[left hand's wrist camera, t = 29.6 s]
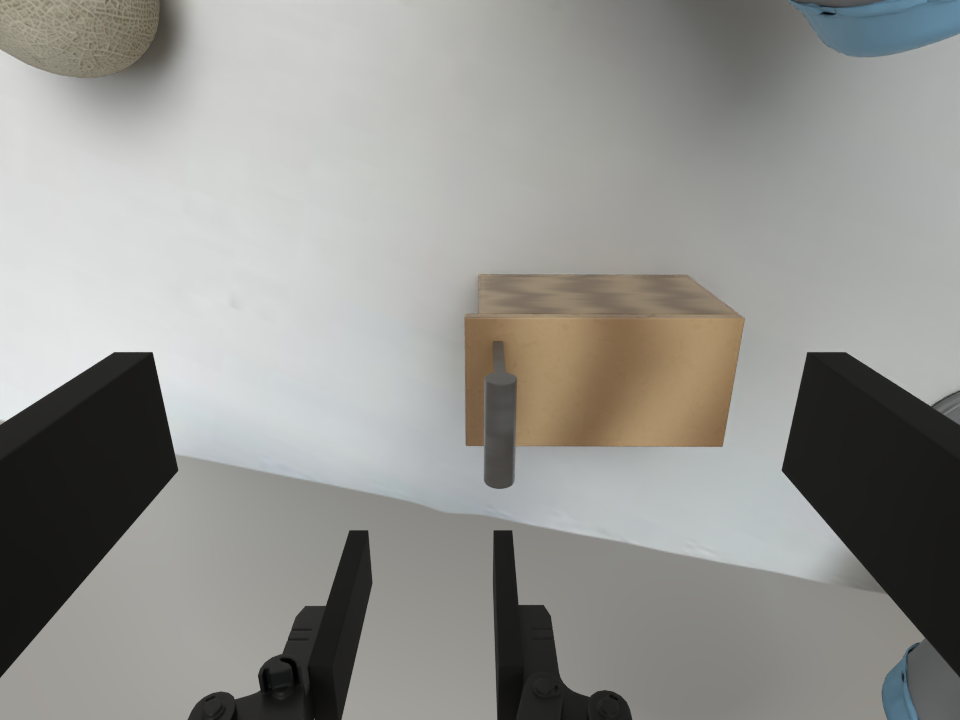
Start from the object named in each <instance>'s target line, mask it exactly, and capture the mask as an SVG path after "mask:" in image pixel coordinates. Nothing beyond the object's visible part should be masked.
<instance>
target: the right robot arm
mask: <svg viewBox="0 0 960 720" xmlns="http://www.w3.org/2000/svg"><path fill="white" fill-rule="evenodd" d="M932 408H934V409H935V410H937V411H939V412H940V413H942V414H943V415H945V416H946V417H948V418H950V419H951V420H953V421H954V422H956V423H957V424H959V425H960V392H958V393H956V394H953V395H951V396H950V397H948V398H946V399H944V400H942V401H941V402H939V403H938V404H936V405H935V406H934V407H932ZM371 587H372V573H371V560H370V548H369V535H368V530H350V531H349V534H348V537H347V540H346V544H345V547H344V550H343V553H342V556H341V560H340V563H339V566H338V569H337V572H336V576H335V579H334V582H333V585H332V589H331V592H330V595H329V598H328V601H327V605H326V606H305V607H304V608H303V609H302V611H301V612H300V613H299V614H298V615H297V616H296V618H295V621H294V624H293V626H292V630H291V632H290V635H289V637H288V641H287V643H286V645H285V648H284V651H283V654H280V655H278V656H275V657H272V658H271V659H269V660H268V661H266V662H265V663H264V665H263V666H262V667H261V668H260V671H259V674H258V678H259V684H260V689H261V690H260V691H259V692H257V693H254V694H252V695H249V696H246V697H242V698H239V699H234V697H233V696H232V695H231V694H229V693H226V692H216V693H212V694H210V695H208V696H206V697H204V698H203V699H201V700H200V701H199V702H198V703H197V704H196V705H195V707H194V708H193V710H192V712H191V714H190V716H189V718H188V720H314V718H315V720H341V719H342V715H343V710H344V706H345V701H346V697H347V693H348V688H349V684H350V679H351V675H352V670H353V666H354V662H355V657H356V653H357V648H358V644H359V640H360V635H361V631H362V626H363V622H364V618H365V613H366V609H367V604H368V600H369V596H370V591H371ZM493 600H494V630H495V662H496V692H497V720H632V717H631V712H630V709H629V706H628V704H627V702H626V701H625V700H624V699H623V698H622V697H621V696H620V695H618V694H616V693H614V692H611V691H606V690H604V691H598V692H596V693H594V694H593V695H591V697H588V696H584V695H581V694H578V693H576V692H573V691H572V690H570V689H569V688H568V687H567V686H566V685H565V684H564V683H563V681H562V680H561V678H560V674H559V669H558V663H557V656H556V649H555V642H554V635H553V630H552V622H551V616H550V614H549V613H548V611H547V610H546V608H545V607H544V605H518V595H517V583H516V571H515V559H514V547H513V535H512V531H511V530H507V531H506V530H505V531H503V530H501V531H500V530H498V531H497V530H495V531H494V543H493ZM882 702H883V707H884V711H885V714H886V717H887V719H888V720H960V677H959V676H958V675H957V674H956V673H955V672H954V670H953V669H952V668H951V667H950V666H949V665H948V663H947V662H946V661H945V660H944V659H943V658H942V656H941V655H940V654H939V653H938V652H937V651H936V650H935V648H934V647H933V646H932V645H931V644H930V643H929V641H928V640H927V639H926V638H925V639H924V640H923V641H922V642H921V643H916V644H914V645H912V646H911V647H910V648H908V650H907V651H906V653H905V655H904V656H903V659H902V660H901V661H900V662H899V663H898V664H897V665H896V666H895V667H894V668H893V669H892V670H891V671H890V672H889V673H888V674H887V676H886V678H885V681H884V684H883V687H882Z"/></svg>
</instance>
